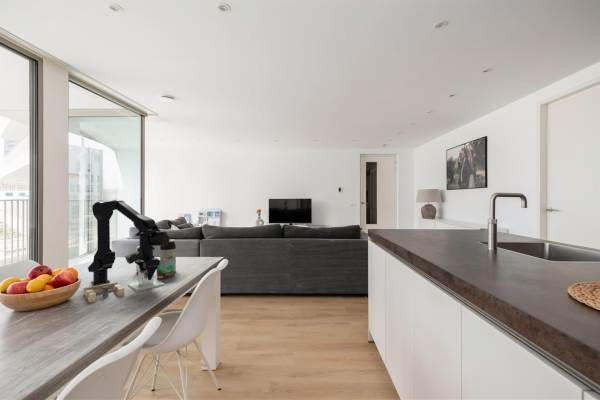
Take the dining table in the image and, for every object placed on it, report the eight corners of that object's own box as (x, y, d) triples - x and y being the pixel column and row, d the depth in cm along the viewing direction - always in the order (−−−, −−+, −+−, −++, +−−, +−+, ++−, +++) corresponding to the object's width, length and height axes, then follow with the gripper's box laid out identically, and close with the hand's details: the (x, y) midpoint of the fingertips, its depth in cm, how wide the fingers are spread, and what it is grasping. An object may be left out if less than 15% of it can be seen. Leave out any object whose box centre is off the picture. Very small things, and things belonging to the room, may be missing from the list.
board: (128, 285, 132) (128, 283, 132) (155, 280, 141) (155, 278, 141) (136, 291, 124) (136, 289, 124) (164, 285, 132) (164, 283, 132)
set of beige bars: (83, 294, 119) (83, 285, 119) (116, 288, 128) (116, 279, 128) (89, 302, 110) (89, 292, 110) (124, 295, 119) (124, 285, 119)
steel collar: (138, 283, 132) (138, 271, 132) (149, 281, 136) (149, 269, 136) (142, 286, 129) (142, 273, 129) (153, 283, 132) (153, 271, 132)
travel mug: (160, 274, 151) (160, 241, 151) (160, 271, 158) (160, 239, 159) (176, 272, 155) (176, 240, 155) (175, 269, 162) (175, 238, 162)
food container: (165, 280, 140) (165, 261, 140) (155, 280, 141) (155, 260, 141) (180, 274, 152) (181, 256, 152) (170, 273, 153) (171, 255, 153)
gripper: (121, 245, 133) (121, 277, 133) (133, 250, 120) (133, 286, 120) (146, 242, 141) (146, 273, 141) (160, 246, 128) (160, 280, 128)
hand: (146, 278), depth 132 cm, fingers open, 9 cm apart
